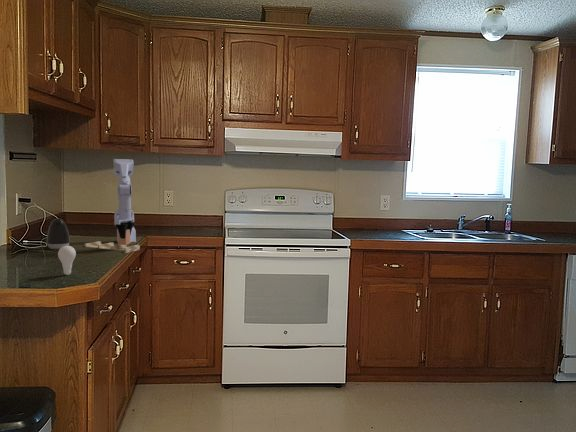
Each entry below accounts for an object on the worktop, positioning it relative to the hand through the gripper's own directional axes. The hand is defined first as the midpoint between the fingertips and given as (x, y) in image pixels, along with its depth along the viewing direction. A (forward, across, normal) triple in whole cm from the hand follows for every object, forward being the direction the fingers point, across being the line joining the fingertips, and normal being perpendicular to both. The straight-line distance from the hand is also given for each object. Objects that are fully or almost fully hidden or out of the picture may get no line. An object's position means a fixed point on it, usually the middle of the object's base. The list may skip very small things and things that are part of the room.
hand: (125, 237), depth 242 cm
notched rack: (+6, -2, -8) cm, 10 cm away
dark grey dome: (+6, +7, -31) cm, 32 cm away
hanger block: (+3, 0, 0) cm, 3 cm away
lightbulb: (+6, +56, +7) cm, 56 cm away
